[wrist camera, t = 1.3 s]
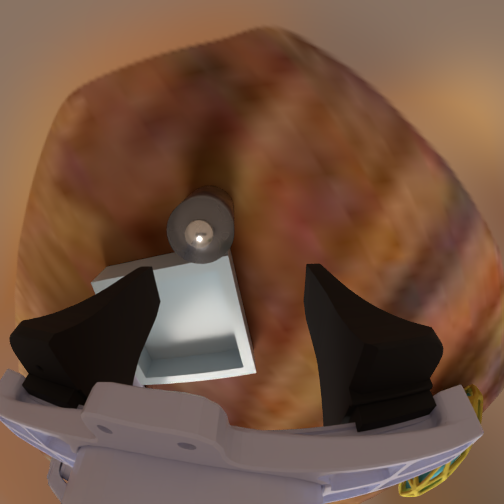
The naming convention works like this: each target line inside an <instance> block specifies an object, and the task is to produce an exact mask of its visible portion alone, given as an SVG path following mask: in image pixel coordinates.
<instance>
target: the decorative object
mask: <svg viewBox="0 0 504 504" xmlns="http://www.w3.org/2000/svg"><path fill="white" fill-rule="evenodd" d="M463 389H464V391H465V393H466V395H467V397H468V399H469V401H470V403H471V405H472V407H473V409H474V411H475V413H476V415H477V418H478V420H479V422H480V424H481V420H482V410H483V396H482V394H481V392H480V391H479V389H478V388H477V387H476V386H475V385H473V384H471V385H469V386H467V387H465V388H463ZM472 394H473V396H472ZM472 445H473V444H472ZM472 445H471V446H469V447H468V448H467V449H466V450H465V451H463V452H462V453H461V456H460V457H459V458H458V456H459V455H458V456H457V457H456V458H455V459H453V460H452V461H451V462H449V463H447V464H445V465H442V466H440V467H438V468H436V469H433V470H431V471H429V472H426V473H424V474H421V475H419V476H416V477H414V478H411V479H409V480H406V481H404V484H403V482H401V483H399V495H400V496H404V497H415V496H419V495H421V494H423V493H425V492H427V491H429V490H430V489H432V488H434V487H435V486H437V485H439V484H440V483H442V482H443V481H444V480H446V479H447V478H448V477H449V476H450V475H451V474H452V473H453V472H454V471H455V469H456V468H457V467H458V466H459V465H460V463H461V462H462V461H463V459H464V458H465V457H466V456H467V454H468V452H469V450H470V449H471V447H472ZM457 458H458V459H457ZM456 459H457V460H456ZM455 460H456V461H455ZM402 485H403V486H402ZM421 489H422V490H421ZM419 490H420V491H419Z"/></svg>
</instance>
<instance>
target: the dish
mask: <svg viewBox="0 0 504 504" xmlns="http://www.w3.org/2000/svg"><path fill="white" fill-rule="evenodd" d="M141 266H152V268H153V272H154V276H155V281H156V285H157V289H158V293H159V297H160V301H161V302H160V306H159V310H158V313H157V317H156V320H155V322H154V324H153V327H152V329H151V331H150V334H149V336H148V338H147V341H146V343H145V345H144V348H143V350H142V352H141V355H140V358H139V361H138V365H137V369H136V372H135V375H136V377H137V379H138V380H139V382H140V384H141V385H151V384H168V383H181V382H192V381H202V380H211V379H219V378H226V377H233V376H240V375H246V374H252V373H256V365H255V357H254V349H253V345H252V341H251V337H250V333H249V328H248V324H247V320H246V316H245V311H244V307H243V303H242V298H241V294H240V290H239V285H238V281H237V276H236V272H235V268H234V263H233V259H232V254H231V250H230V248H229V250H228V251H227V253H226V254H225V255H224V256H223V257H221V258H220V259H218V260H216V261H214V262H211V263H207V264H196V263H191V262H188V261H186V260H184V259H183V258H181V257H180V256H179V255H177V254H176V253H175V252H174V253H169V254H164V255H160V256H155V257H150V258H145V259H141V260H136V261H131V262H127V263H122V264H117V265H113V266H108V267H106V268H105V269H104V270H103V271H102V272H101V273H100V274H99V275H98V276H97V277H96V278H95V279H94V280H93V281H92V282H91V284H92V287H93V289H94V292H95V294H97V293H99V292H100V291H102V290H104V289H105V288H107V287H109V286H110V285H112V284H113V283H115V282H116V281H118V280H119V279H121V278H122V277H124V276H125V275H127V274H129V273H130V272H132V271H133V270H135V269H137V268H139V267H141Z"/></svg>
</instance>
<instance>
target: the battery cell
mask: <svg viewBox="0 0 504 504" xmlns="http://www.w3.org/2000/svg"><path fill="white" fill-rule="evenodd" d="M167 237H168V241H169V243H170V245H171V247H172V249H173V250H174V251H175V253H176V254H177V255H179V256H180V257H181V258H183V259H184V260H186V261H188V262H191V263H196V264H207V263H211V262H214V261H216V260H218V259H220V258H221V257H223V256H224V255H225V254H226V253H227V251H228V250H229V248H230V247H231V245H232V242H233V239H234V206H233V202H232V199H231V198H230V196H229V195H228V193H227V192H226V191H224V190H223V189H221V188H219V187H216V186H204V187H201V188H198V189H197V190H195V191H194V192H193V193H192V194H191V195H189V196H188V197H187V198H186V199H185V200H184V201H183V202H182V203H181V204H179V205H178V206H177V207H176V208H175V209H174V211H173V212H172V213H171V215H170V217H169V220H168V224H167Z"/></svg>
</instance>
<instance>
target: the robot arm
mask: <svg viewBox="0 0 504 504" xmlns="http://www.w3.org/2000/svg"><path fill="white" fill-rule="evenodd" d="M160 302H161V301H160V297H159V293H158V289H157V285H156V281H155V276H154V272H153V268H152V266H141V267H139V268H137V269H135V270H133V271H132V272H130V273H129V274H127V275H125V276H124V277H122V278H121V279H119V280H118V281H116V282H115V283H113V284H112V285H110V286H109V287H107V288H105V289H104V290H102V291H100V292H99V293H97V294H96V295H94V296H92V297H90V298H88V299H86V300H84V301H82V302H80V303H78V304H76V305H74V306H71V307H69V308H66V309H64V310H62V311H59V312H56V313H53V314H49V315H46V316H42V317H38V318H33V319H29V320H23V321H22V322H21V323H20V324H19V325H18V326H17V327H16V329H15V330H14V331H13V333H12V334H11V335H10V344H11V347H12V349H13V351H14V353H15V354H16V356H17V357H18V359H19V360H20V362H21V363H22V365H23V366H24V368H25V369H26V370H27V372H28V373H29V374H28V376H27V377H26V378H25V377H24V376H23V375H21V374H20V373H17V372H15V371H13V370H11V369H7V371H6V372H5V374H4V375H3V377H2V378H1V380H0V420H1V422H2V423H4V424H5V425H6V426H7V427H8V428H9V429H10V430H11V431H12V432H13V433H14V434H15V435H16V436H18V437H19V438H21V439H23V440H24V441H26V442H28V443H29V444H31V445H32V446H34V447H36V448H38V449H39V450H41V451H43V452H44V453H46V454H48V455H50V456H51V457H52V459H51V462H50V469H49V472H48V475H47V479H48V484H49V486H50V488H51V489H52V491H53V492H54V494H55V495H56V496H57V498H58V499H59V500H60V502H61V504H325V503H330V502H335V501H340V500H344V499H348V498H352V497H356V496H360V495H364V494H367V493H371V492H374V491H377V490H380V489H384V488H387V487H390V486H392V485H395V484H398V483H401V482H404V481H406V480H409V479H411V478H414V477H416V476H419V475H421V474H424V473H426V472H429V471H431V470H433V469H436V468H438V467H440V466H442V465H445V464H447V463H449V462H451V461H452V460H453V459H455V458H456V457H457V456H458V455H460V454H461V453H462V452H463V451H465V450H466V449H467V448H468V447H469V446H471V445H472V444H473V443H474V442H475V441H476V440H477V439H479V438H480V437H481V436H482V435H483V433H484V431H483V429H482V427H481V424H480V422H479V420H478V418H477V415H476V413H475V411H474V409H473V407H472V405H471V403H470V401H469V399H468V397H467V395H466V393H465V391H464V389H463V387H462V385H457V386H454V387H452V388H449V389H446V390H443V391H440V392H438V393H437V394H435V395H434V396H432V394H431V391H430V389H432V387H433V384H432V382H431V380H430V377H431V375H432V374H433V372H434V370H435V369H436V367H437V365H438V364H439V362H440V359H441V357H442V355H443V346H442V343H441V341H440V340H439V338H438V336H437V335H436V333H435V332H434V330H433V329H432V327H428V326H425V325H421V324H417V323H413V322H410V321H407V320H405V319H402V318H399V317H397V316H394V315H392V314H389V313H387V312H385V311H383V310H381V309H379V308H377V307H375V306H374V305H372V304H370V303H369V302H367V301H365V300H364V299H362V298H361V297H359V296H358V295H356V294H355V293H354V292H352V291H351V290H350V289H348V288H347V287H346V286H345V285H343V284H342V283H341V282H340V281H339V280H337V279H336V278H335V277H334V276H333V275H332V274H331V273H330V272H329V271H327V270H326V269H325V268H324V267H323V266H322V265H321V264H307V265H306V279H305V291H304V307H305V315H306V320H307V324H308V328H309V332H310V335H311V339H312V343H313V346H314V350H315V354H316V358H317V363H318V370H319V378H320V387H321V397H322V409H323V425H324V427H316V428H305V429H291V430H255V429H249V428H242V427H236V426H231V425H229V422H228V417H227V414H226V413H225V412H224V410H223V409H222V408H221V407H220V405H218V404H217V403H215V402H213V401H211V400H209V399H207V398H205V397H203V396H199V395H194V394H189V393H185V392H175V391H166V390H158V389H150V388H145V386H144V385H141V384H140V382H139V380H138V379H137V377H136V375H135V372H136V369H137V365H138V361H139V358H140V355H141V352H142V350H143V348H144V345H145V343H146V341H147V338H148V336H149V334H150V331H151V329H152V327H153V324H154V322H155V320H156V317H157V313H158V310H159V306H160ZM62 478H64V479H65V480H67V481H68V483H66V482H65V481H64V480H63V479H62Z"/></svg>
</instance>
